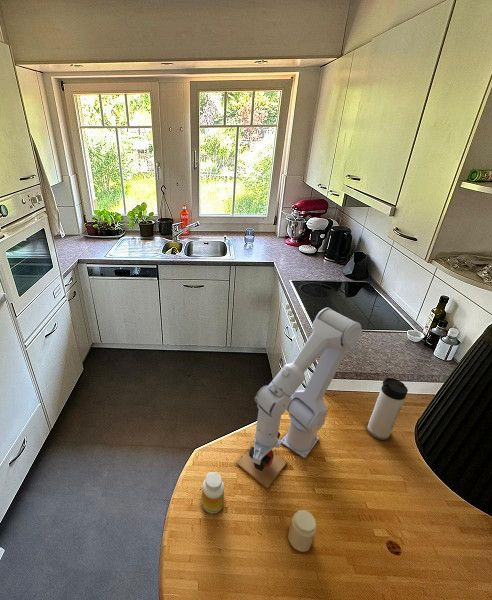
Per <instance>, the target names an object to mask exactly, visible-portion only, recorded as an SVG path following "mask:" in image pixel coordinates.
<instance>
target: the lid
mask: <svg viewBox="0 0 492 600" xmlns="http://www.w3.org/2000/svg"><path fill="white" fill-rule="evenodd" d="M273 451H274V450H273V449H272V450H271V451H270V452H269V453H267V454H266V455H268V456H270V457H271V459H270V462H269V463H268V464H266V465H265V466H264V467H267V466H270V465H271V464H272V462H273V458H274V454H275V453H274V452H273ZM273 453H274V454H273Z"/></svg>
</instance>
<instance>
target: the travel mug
mask: <svg viewBox="0 0 492 600" xmlns="http://www.w3.org/2000/svg"><path fill="white" fill-rule="evenodd" d="M408 392H409V389H408V387H407V386H406V385H405V384H404V382H402V381H401V380H399V379H397V378H393V377H385V378H384V380H383V381H382V386H381V388H380V390H379V394H378V395H377V399H376V402H375V405H374V407H373V411H372V413H371V415H370V418H369V421H368V424H367V426H366V429H367V431H368V433H369V435H371V436H372V437H374V438H375V439H377V440H384V441H385V440H387V439H389V438H390V437H391V434H392V431H393V428H394V427H395V424H396V421H397V420H398V417H399V414H400V412H401V409H402V407H403V405H404V403H405V400H406V397H407V394H408Z"/></svg>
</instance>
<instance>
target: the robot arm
mask: <svg viewBox="0 0 492 600" xmlns="http://www.w3.org/2000/svg"><path fill="white" fill-rule="evenodd" d="M311 325H312V326H311V328H312V332H311V334H310V336H309V337H308V339H307V340H306V342H305V343H304V344H303V346H302V348H301V349H300V351H299V352H298V353H297V355H296V357H295V358H294V360H293V361H292V362H290V363H285V364H284V365H283V366H282V368H281V369H280V370H279V372H278V373H277V374H276V375H275V376H274V377H273V379H272V380H271V381H270V383H269V384H268V385H267V384H266V385H263V386H262V387H260V389H259V390H258V391H257V392H256V394H255V396H254V402H255V403H256V404H257V406H256V408H257V409H258V413H257V419H256V427H255V432H254V436H253V446H254V447H253V446H250V449H249V450H250V451H249V450H248V451H249V456H250V457H251V458H252V459H253V460H252V462H254V466H255V468H256V469H258V470H260V471H262V470H263V469H264V466H265V465H266V464H268V463H269V462H270V459H271V457H270V456H268V455H266V454H267V453H269V452H270V451H271V450H272V451H273V450H274V448H278V449H279V448H281V444H283V445H284V446H285V447H287V448H288V449H290V450H291V451H292V452H294V453H295V454H297V455H298V456H300V457H302V458H304V459H305V458H306V457H308V454H309V453H310V452H311V450H312V449H313V448H314V447H315V445H316V444H317V442H318V441H319V440H320V437H318V436H317V434H318V431H320V430H321V429H322V428H323V427H324V424H325V422H326V417H327V415H328V412H329V410H328V407H327V405H326V403H325V400H324V396H325V395H326V394H327V393H326V392H327V391H328V389H329V387H330V385H331V383H332V381H333V379H334V377H335V375H336V373H337V371H338V369H339V367H340V366H341V363H342V361H343V359H344V357H346V356H345V355H346V354H347V352H348V351H350V352H352V351H353V350H354V348H355V347H356V346H357V343H358V342H359V339H360V338H361V336H362V333H363V329H362V325H361V323H360V322H359V321H355V320H353V319H351V318H349V317H347V316H344V315H343V314H341V313H339V312H337V311H335V310H333V308H330V307H325V308H323V309H321V310H320V311H319V312H318V313H317V314H316V315H315V318H314V320H313V322H312V324H311ZM319 357H320V358H319ZM318 358H319V360H318V362H317V363H316V366H315V368H314V370H313V372H312V374H311V377H310V378H309V381H308V382H307V384H306V386H305V388H304V389H299V390H298V388H299V387H300V386H301V385H302V383H303V382H305V378H306V377H305V372H306V371H307V370H308V369H309V368H310V367H311V366H312V365H313V364H314V363H315V361H316V360H317V359H318ZM286 411H287V413H288V417H289V425H288V429H287V433H286V434H285V435H284V436H283V437H282V439H281V440H280V437H281V432H280V425H281V419H282V415H284V413H285V412H286Z"/></svg>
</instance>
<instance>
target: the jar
mask: <svg viewBox="0 0 492 600" xmlns="http://www.w3.org/2000/svg"><path fill="white" fill-rule="evenodd" d="M316 532H317V522H316V519H315V516H313V514H312V513H311V512H310V511H308V510H305V509H299V510H297V511H296V512H295V513H294V514H293V515H292V518H291V522H290V525H289V530H288V535H287V538H288V541H289V543H290V545H291V546H292V548H293V549H295V551H299V552H300V553H301V552H302V553H304V552H308V551H309V550H310V549H311V547H312V544H313V541H314V538H315V535H316Z"/></svg>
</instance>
